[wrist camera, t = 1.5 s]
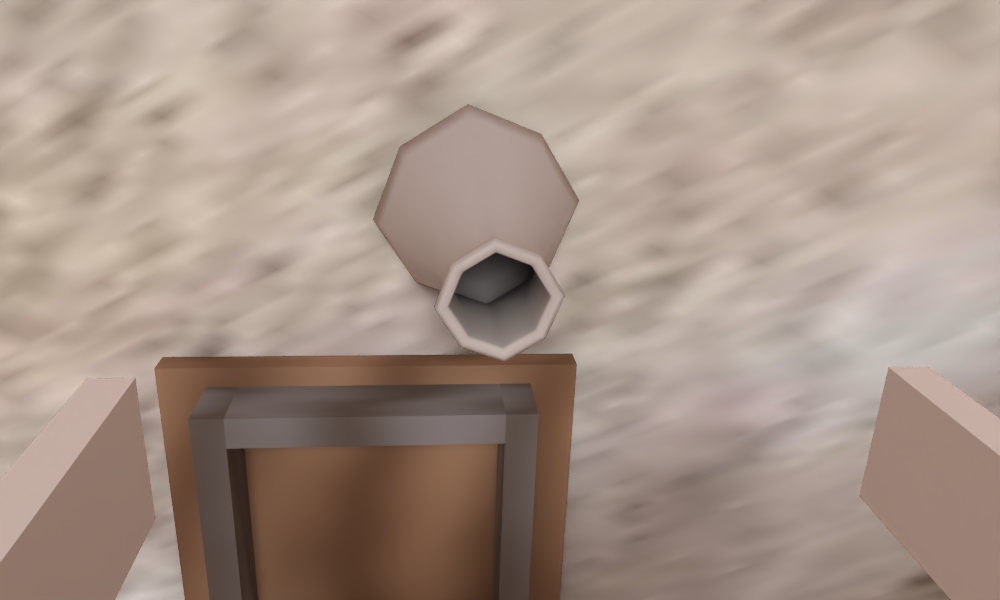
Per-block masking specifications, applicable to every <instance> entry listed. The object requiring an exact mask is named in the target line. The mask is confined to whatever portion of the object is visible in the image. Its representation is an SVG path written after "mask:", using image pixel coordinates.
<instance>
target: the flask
mask: <svg viewBox="0 0 1000 600" xmlns="http://www.w3.org/2000/svg"><path fill="white" fill-rule="evenodd" d="M578 201H579V199H578V197H577V196H576V194H575V192H574V190H573V189H572V187H571V185H570V183H569V182H568V180H567V178H566V176H565V175H564V173H563V171H562V169H561V167H560V166H559V164H558V162H557V160H556V159H555V157H554V155H553V153H552V152H551V150H550V148H549V146H548V145H547V143H546V141H545V139H544V138H543V136H542V134H540V133H537V132H535V131H532V130H530V129H527V128H525V127H522V126H520V125H518V124H515V123H513V122H510V121H508V120H505V119H503V118H500V117H498V116H495V115H493V114H491V113H488V112H486V111H483V110H481V109H478V108H476V107H473V106H471V105H469V104H468V105H466V106H464V107H463V108H461V109H460V110H458V111H456V112H455V113H453V114H452V115H450V116H448V117H447V118H445V119H444V120H442V121H440V122H439V123H437V124H436V125H434V126H432V127H431V128H429V129H428V130H426V131H424V132H423V133H421V134H419V135H418V136H416V137H415V138H413V139H411V140H410V141H408V142H407V143H405V144H403V145H402V146H400V148H399V150H398V153H397V156H396V159H395V161H394V164H393V167H392V169H391V172H390V175H389V178H388V180H387V183H386V186H385V188H384V191H383V194H382V197H381V199H380V202H379V205H378V207H377V210H376V213H375V216H374V218H373V220H374V221H375V223H376V224H377V226H378V227H379V228H380V230H381V231H382V233H383V234H384V236H385V237H386V239H387V240H388V242H389V243H390V245H391V246H392V247H393V249H394V250H395V252H396V253H397V255H398V256H399V258H400V259H401V261H402V262H403V263H404V265H405V266H406V268H407V269H408V271H409V272H410V274H411V275H412V277H413V278H414V280H415V281H416V282H419V283H421V284H424V285H427V286H429V287H432V288H435V289H438V290H440V293H439V295H438V298H437V300H436V303H435V305H434V308H435V310H436V312H437V313H438V315H439V316H440V318H441V319H442V321H443V322H444V324H445V325H446V326H447V328H448V329H449V331H450V332H451V334H452V335H453V337H454V338H455V340H456V341H457V342H458V344H459V345H460V347H462V348H465V349H468V350H471V351H474V352H477V353H480V354H483V355H486V356H489V357H492V358H495V359H498V360H501V361H504V362H505V361H507V360H509V359H510V358H512V357H514V356H515V355H517V354H519V353H521V352H522V351H524V350H526V349H528V348H529V347H531V346H533V345H534V344H536V343H538V342H540V341H541V340H543V339H545V338H546V336H547V334H548V332H549V329H550V327H551V325H552V323H553V321H554V319H555V316H556V314H557V312H558V310H559V308H560V306H561V303H562V301H563V299H564V297H565V295H564V293H563V291H562V289H561V288H560V286H559V284H558V283H557V281H556V279H555V278H554V276H553V274H552V273H551V271H550V270H549V266H550V264H551V262H552V259H553V257H554V255H555V253H556V251H557V248H558V246H559V244H560V242H561V239H562V237H563V235H564V233H565V230H566V228H567V226H568V224H569V222H570V219H571V217H572V215H573V213H574V210H575V208H576V206H577V204H578Z"/></svg>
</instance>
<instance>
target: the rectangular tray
mask: <svg viewBox="0 0 1000 600" xmlns="http://www.w3.org/2000/svg"><path fill="white" fill-rule="evenodd" d="M576 366H577V364H576V362H575V359H574V357H573V355H572V354H517V355H515V356H514V357H512V358H510V359H509V360H507V361H505V362H504V361H501V360H498V359H495V358H492V357H489V356H486V355H386V356H269V357H163V358H162V359H161V360H160V362H159V363H158V364H157V366H156V367H155V376H156V384H157V391H158V399H159V407H160V414H161V422H162V429H163V437H164V444H165V452H166V459H167V467H168V474H169V482H170V489H171V497H172V505H173V512H174V520H175V527H176V535H177V542H178V550H179V557H180V565H181V572H182V580H183V587H184V595H185V600H560V589H561V575H562V561H563V547H564V533H565V519H566V505H567V491H568V477H569V463H570V449H571V435H572V421H573V407H574V394H575V380H576Z"/></svg>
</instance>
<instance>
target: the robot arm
mask: <svg viewBox="0 0 1000 600" xmlns="http://www.w3.org/2000/svg"><path fill="white" fill-rule="evenodd" d="M860 497H861V498H862V500H863V501H864V502H865V503H866V504H867V505H868V506H869V508H870V509H871V510H872V511H873V512H874V513H875V514H876V515H877V517H878V518H879V519H880V520H881V521H882V522H883V523H884V525H885V526H886V527H887V528H888V529H889V530H890V531H891V533H892V534H893V535H894V536H895V537H896V538H897V539H898V540H899V542H900V543H901V544H902V545H903V546H904V547H905V548H906V550H907V551H908V552H909V553H910V554H911V555H912V556H913V558H914V559H915V560H916V561H917V562H918V563H919V564H920V566H921V567H922V568H923V569H924V570H925V571H926V572H927V573H928V575H929V576H930V577H931V578H932V579H933V580H934V581H935V583H936V584H937V585H938V586H939V587H940V588H941V589H942V591H943V592H944V593H945V594H946V595H947V596H948V597H949V598H950V600H1000V419H999V418H998V417H996V416H995V415H993V414H992V413H991V412H989V411H988V410H987V409H985V408H984V407H983V406H981V405H980V404H978V403H977V402H976V401H974V400H973V399H972V398H970V397H969V396H968V395H966V394H965V393H963V392H962V391H961V390H959V389H958V388H957V387H955V386H954V385H952V384H951V383H950V382H948V381H947V380H946V379H944V378H943V377H942V376H940V375H939V374H937V373H936V372H935V371H933V370H932V369H931V368H929V367H889V368H888V372H887V377H886V381H885V386H884V390H883V394H882V399H881V403H880V408H879V412H878V417H877V421H876V425H875V430H874V434H873V439H872V443H871V448H870V452H869V457H868V461H867V465H866V470H865V474H864V479H863V483H862V488H861V492H860ZM154 520H155V512H154V505H153V498H152V491H151V484H150V477H149V470H148V463H147V456H146V449H145V442H144V435H143V429H142V422H141V415H140V408H139V401H138V394H137V387H136V380H135V378H97V379H86V380H85V381H84V382H83V383H82V385H81V386H80V387H79V388H78V389H77V390H76V392H75V393H74V394H73V395H72V396H71V397H70V399H69V400H68V401H67V402H66V403H65V404H64V406H63V407H62V408H61V409H60V410H59V411H58V413H57V414H56V415H55V416H54V417H53V418H52V420H51V421H50V422H49V423H48V424H47V425H46V427H45V428H44V429H43V430H42V431H41V432H40V434H39V435H38V436H37V437H36V438H35V439H34V441H33V442H32V443H31V444H30V445H29V446H28V448H27V449H26V450H25V451H24V452H23V453H22V455H21V456H20V457H19V458H18V459H17V460H16V462H15V463H14V464H13V465H12V466H11V467H10V469H9V470H8V471H7V472H6V473H5V474H4V476H3V477H2V478H1V479H0V600H115V598H116V596H117V594H118V592H119V590H120V588H121V586H122V584H123V582H124V580H125V578H126V576H127V574H128V572H129V570H130V568H131V566H132V564H133V562H134V560H135V558H136V556H137V554H138V552H139V550H140V548H141V546H142V544H143V542H144V540H145V538H146V536H147V534H148V532H149V530H150V528H151V526H152V524H153V522H154Z"/></svg>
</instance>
